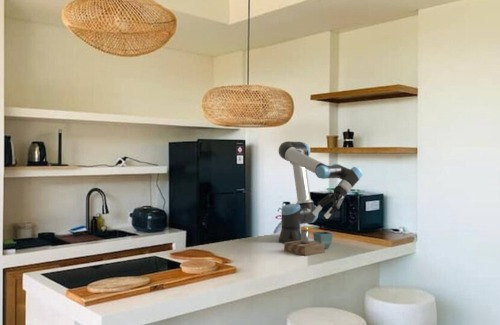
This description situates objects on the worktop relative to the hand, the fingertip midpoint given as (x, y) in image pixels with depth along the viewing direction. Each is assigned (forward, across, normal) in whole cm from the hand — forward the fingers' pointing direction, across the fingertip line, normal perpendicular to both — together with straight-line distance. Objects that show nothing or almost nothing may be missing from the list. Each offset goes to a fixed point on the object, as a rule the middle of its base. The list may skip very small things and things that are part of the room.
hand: (319, 215), depth 272 cm
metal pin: (+21, 0, -7) cm, 22 cm away
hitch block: (+21, 0, -7) cm, 22 cm away
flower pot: (+10, +7, -19) cm, 23 cm away
